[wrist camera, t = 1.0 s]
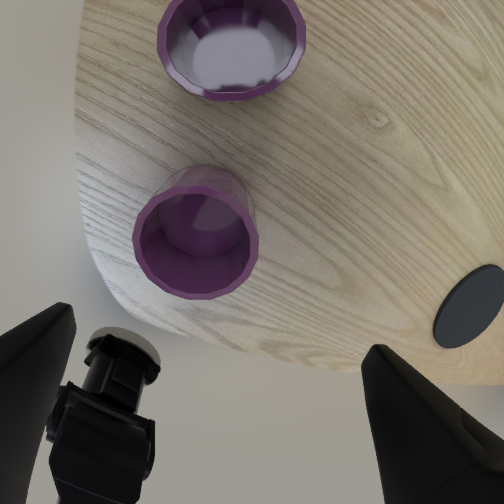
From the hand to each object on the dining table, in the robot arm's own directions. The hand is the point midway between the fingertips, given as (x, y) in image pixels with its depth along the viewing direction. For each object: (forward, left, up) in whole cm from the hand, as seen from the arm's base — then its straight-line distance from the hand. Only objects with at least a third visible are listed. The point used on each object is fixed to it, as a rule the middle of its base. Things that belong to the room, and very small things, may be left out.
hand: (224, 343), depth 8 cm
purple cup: (-1, +1, -11) cm, 11 cm away
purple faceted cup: (+7, +6, -11) cm, 14 cm away
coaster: (+10, -23, -11) cm, 27 cm away
